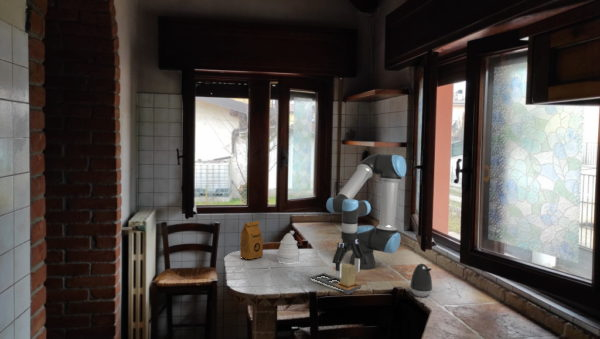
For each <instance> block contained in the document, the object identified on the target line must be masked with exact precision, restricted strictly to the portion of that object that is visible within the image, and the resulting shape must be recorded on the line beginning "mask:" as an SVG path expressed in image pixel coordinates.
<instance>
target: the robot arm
mask: <svg viewBox="0 0 600 339" xmlns="http://www.w3.org/2000/svg"><path fill="white" fill-rule="evenodd" d="M406 173H407V163H406V160H405V158H404V157H403V156H402V155H397V154H385V153H374V154H372V155H369V156H368V157H366V158H364V159H363V160H362V161H361V162H360V163H359V164H358V165H357V167H356V170H355V172H354V173H353V174H352V175H351V177H350V178H349V180H348V181H347V182H346V183H345V185H344V186H343V188H342V189H341V190H340V191H339V192H338V193H337V195H336V196H335V197H329V198H328V199H327V201H326V206H325V207H326V210H327V211H328V212H330V213H335V214H339V215H340V214H341V234H340V235H341V236H340V238H341V242H337V247H336V250H335V253H334V256H333V259H332V260H331V261H332V263H333V264H335V277H337V278H341V265H343V264H342V261H343V259H344V258H345V257H346V256H345V255H346V254H347V253H348V252H349V251H351V252H352V253H351V256H350V259H349V262H348V264H352V265H355V273H356V272H357V273H359V272H360V270H372V269H375V268H376V266H377V262H376V259H375V255H374V251H378V252H382V253H387V254H394V253H396V252H397V251H398V249H399V247H400V244H401V242H402V241H401V234H400V233H399V232H398V228H397V227H396V217H397V216H396V215H397V206H398V205H397V203H398V193H399V192H398V191H399V190H398V188H399V183H400V182H401V181H402V178H403V177H405V175H406ZM374 175H375V176H376V175H378V176H379V179H380V180H381V181H382V183H381V195H380V196H381V197H380V207H379V208H380V210H379V223H378V225H377V226H376V227H375V226H374V225H371V224H366V225H365V224H364V225H358V220H359V219H358V218H361V217H364V216H365V217H366V215H368V214H369V213H371V209H372V208H371V207H372V206H371V204H370V202H369V201H367V200H357V199H354V198H355V196H356V194H358V193H359V191H360V190H361V188H362V187H363V185H364V184H365V183H366V181H368V179H371V178H372V177H373V176H374Z"/></svg>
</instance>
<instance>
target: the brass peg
mask: <svg viewBox="0 0 600 339" xmlns="http://www.w3.org/2000/svg"><path fill="white" fill-rule="evenodd" d="M355 277H356V271H355V265H352V264H349V262H348V263H343V264H342V265H341V278H340V286H343V287H346V288H350V287H353V286H355V283H356V282H355V279H356V278H355Z"/></svg>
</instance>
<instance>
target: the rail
mask: <svg viewBox="0 0 600 339" xmlns="http://www.w3.org/2000/svg"><path fill="white" fill-rule="evenodd" d="M321 276H325V277H328V278H329V279H323V278H321V279H320V278H317V277H321ZM311 278H312V279H315V280H317V281H320V282H322V283H325V284H327V285H330V286H333V287H336V288H338V289H341V290H343V291H344V293H343V294H346V295H348V294H353V293H355V292H356V291H355V290H357V289H360V288H361V289H362V285H361V284H358V283H357V282H355V286H353V287H350V288H346V287H343V286H340V283H335V282H333V283H331V282H329V281H332V280H337V281H339V282H340V278H339V277H336V276H333V275H331V274H328V273H326V272H323V273H320V274H316V275H313V276H310V279H311ZM354 291H355V292H354Z"/></svg>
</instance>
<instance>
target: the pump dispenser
mask: <svg viewBox="0 0 600 339" xmlns="http://www.w3.org/2000/svg"><path fill="white" fill-rule="evenodd" d="M430 271H432V267H428V265H426V264H425V263H419V264H417V265H416V267H415V268H414V270H413V273H412V275H411V279H410V282H409V284H410V285H409V286H410V290H411V292H412V293H413V295H414V296H417V297H422V298H424V297H427V296H429V295H430V294H431V292H432V290H433V280H432V276H431V275H432V274H431V272H430Z"/></svg>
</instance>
